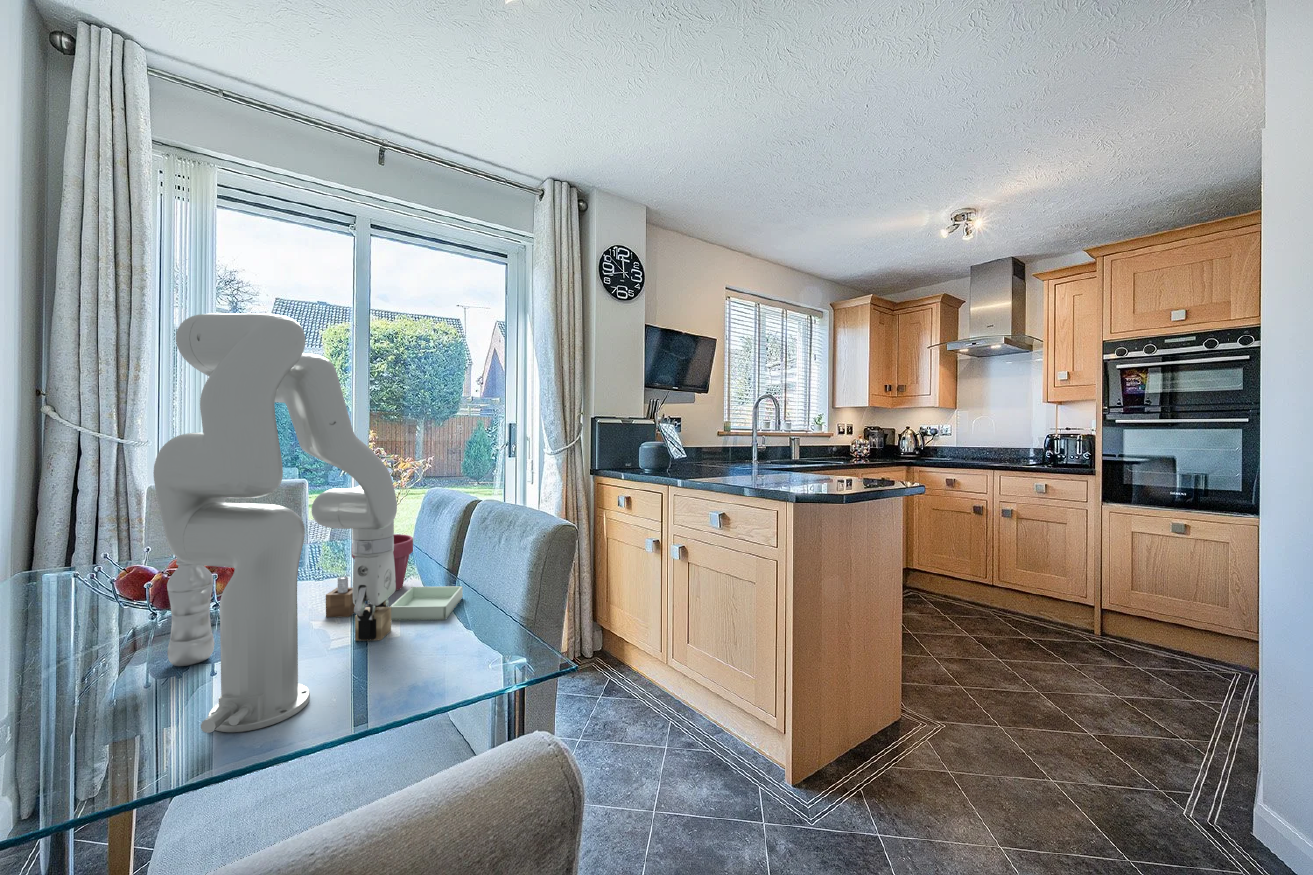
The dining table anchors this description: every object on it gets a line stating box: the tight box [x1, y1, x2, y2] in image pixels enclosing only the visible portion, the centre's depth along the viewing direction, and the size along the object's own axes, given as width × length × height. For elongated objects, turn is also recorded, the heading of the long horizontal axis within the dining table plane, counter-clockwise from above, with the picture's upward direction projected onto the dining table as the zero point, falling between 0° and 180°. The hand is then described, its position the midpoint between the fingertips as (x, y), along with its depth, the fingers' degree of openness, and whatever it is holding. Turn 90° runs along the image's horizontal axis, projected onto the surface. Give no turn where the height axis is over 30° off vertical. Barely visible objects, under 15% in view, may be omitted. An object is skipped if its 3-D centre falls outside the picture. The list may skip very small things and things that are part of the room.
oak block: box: [354, 606, 392, 642], centre depth 112 cm, size 5×5×5 cm
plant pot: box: [351, 533, 414, 592], centre depth 141 cm, size 14×14×13 cm
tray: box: [389, 585, 464, 621], centre depth 127 cm, size 14×12×3 cm
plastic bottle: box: [166, 557, 215, 667], centre depth 98 cm, size 6×7×20 cm
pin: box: [337, 576, 349, 593], centre depth 124 cm, size 2×2×8 cm
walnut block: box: [325, 586, 356, 618], centre depth 124 cm, size 5×5×5 cm
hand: (373, 632), depth 112 cm, fingers closed on oak block, 5 cm apart
